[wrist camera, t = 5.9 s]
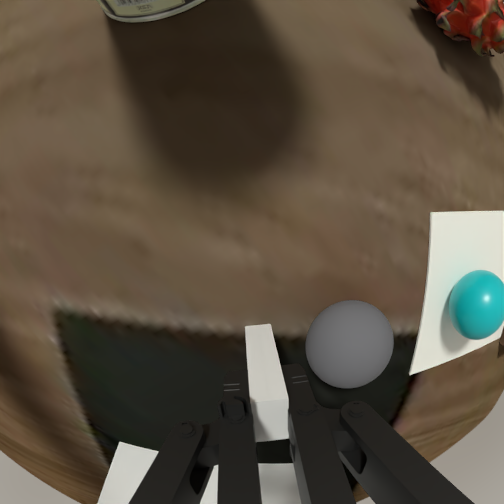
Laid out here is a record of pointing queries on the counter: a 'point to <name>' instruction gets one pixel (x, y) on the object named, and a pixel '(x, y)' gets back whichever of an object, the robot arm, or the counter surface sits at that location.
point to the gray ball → (349, 344)
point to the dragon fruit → (471, 22)
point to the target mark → (455, 280)
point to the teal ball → (477, 304)
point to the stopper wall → (502, 338)
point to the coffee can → (145, 9)
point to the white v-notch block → (271, 482)
